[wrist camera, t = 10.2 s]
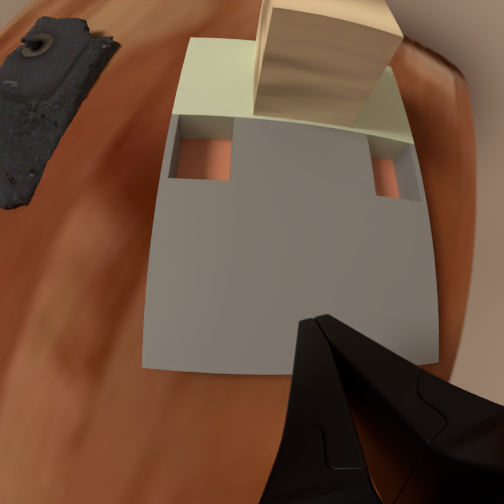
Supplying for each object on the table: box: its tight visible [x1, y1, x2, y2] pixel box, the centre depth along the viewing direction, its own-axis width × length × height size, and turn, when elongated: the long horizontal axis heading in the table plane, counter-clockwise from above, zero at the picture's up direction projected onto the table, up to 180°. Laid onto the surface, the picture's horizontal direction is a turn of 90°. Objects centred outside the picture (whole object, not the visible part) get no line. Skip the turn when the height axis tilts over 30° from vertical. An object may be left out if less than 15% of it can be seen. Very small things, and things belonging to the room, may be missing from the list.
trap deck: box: [142, 38, 439, 375], centre depth 22 cm, size 25×18×4 cm
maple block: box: [253, 0, 404, 128], centre depth 18 cm, size 8×7×9 cm
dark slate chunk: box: [0, 16, 119, 209], centre depth 22 cm, size 15×22×5 cm
